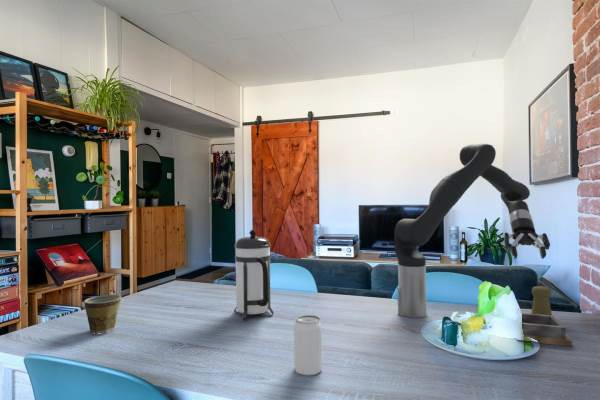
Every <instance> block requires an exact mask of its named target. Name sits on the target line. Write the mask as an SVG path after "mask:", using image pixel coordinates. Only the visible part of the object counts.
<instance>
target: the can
mask: <svg viewBox="0 0 600 400" xmlns="http://www.w3.org/2000/svg"><path fill="white" fill-rule="evenodd" d="M320 320H321V319H320V318H319V317H318V316H317V315H314V314H310V315H309V314H305V315H299V316H297V317H296V318H295V323H294V324H293V325H294V326H293V327H294V328H293V335H294V336H293V340H294V341H293V342H294V343H293V346H294V348H293V349H294V350H293V351H294V357H293V358H294V370H295V372H296V373H298V374H299V375H301V376H304V377H314V376H317V375H319V374H320V373H321V371H322V369H323V342H322V340H323V337H322V336H323V335H322V334H323V333H322V332H323V331H322V323H321V322H320Z"/></svg>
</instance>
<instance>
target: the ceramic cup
mask: <svg viewBox="0 0 600 400" xmlns="http://www.w3.org/2000/svg"><path fill="white" fill-rule="evenodd" d="M120 304H121V295H117V294H105V295H96V296H93V297H90V298H87V299H85V300H84V304H83V305H84V309H85V313H86V316H87V321H88V326H89V331H90V333H91V334H92V333H95V334H94V335H96V334H98V333H106V334H108V333H107V332H109V331H112V330H114V331H115V328H116V325H117V320H118V319H117V318H118V311H119V309H120ZM112 332H113V331H112ZM109 333H110V332H109ZM98 335H99V334H98Z"/></svg>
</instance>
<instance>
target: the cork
mask: <svg viewBox="0 0 600 400" xmlns="http://www.w3.org/2000/svg"><path fill="white" fill-rule="evenodd" d="M531 294H532V296H533V298H532V299H533V300H532V305H531V306H532V309H531V313H530V314H539V315H551V316H553V315H552V309H551V307H552V306H551V302H550V297H551V296H552V291H551V289H550V288H549V287H547V286H543V285H539V286H537V285H536V286H533V287H532V288H531Z"/></svg>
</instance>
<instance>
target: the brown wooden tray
mask: <svg viewBox="0 0 600 400" xmlns="http://www.w3.org/2000/svg"><path fill="white" fill-rule="evenodd" d="M521 313H522V329H523V334H524V337H530V338H533V339H535V340H537V341H538V342H539V343H538V344H547V345H555V346H556V345H557V346H566V347H572V346H573V340H572V339H571V338H570V337H569V336H568V335H567V328H566V326H564V325H563V324H562V322H560V321H559V320H558V319H557V318H556V317H555V316H554V315H552V316H551V315H539V314H531V313H526V312H521Z"/></svg>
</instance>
